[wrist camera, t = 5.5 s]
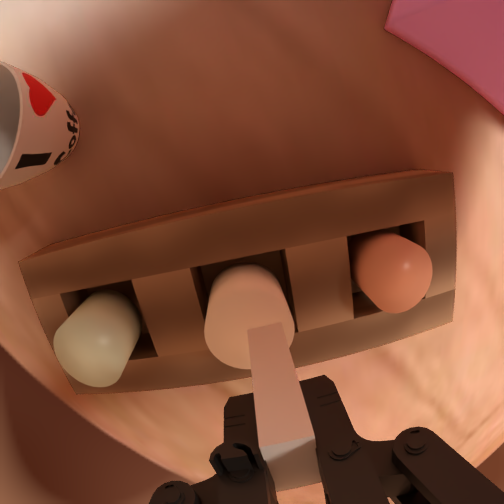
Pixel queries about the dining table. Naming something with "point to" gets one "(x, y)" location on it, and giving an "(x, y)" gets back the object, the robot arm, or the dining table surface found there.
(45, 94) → the cup
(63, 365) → the button sage
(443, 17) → the pink table lamp
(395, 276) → the button terracotta
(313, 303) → the brown wooden long block
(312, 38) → the dining table surface
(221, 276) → the peach rounded knob
